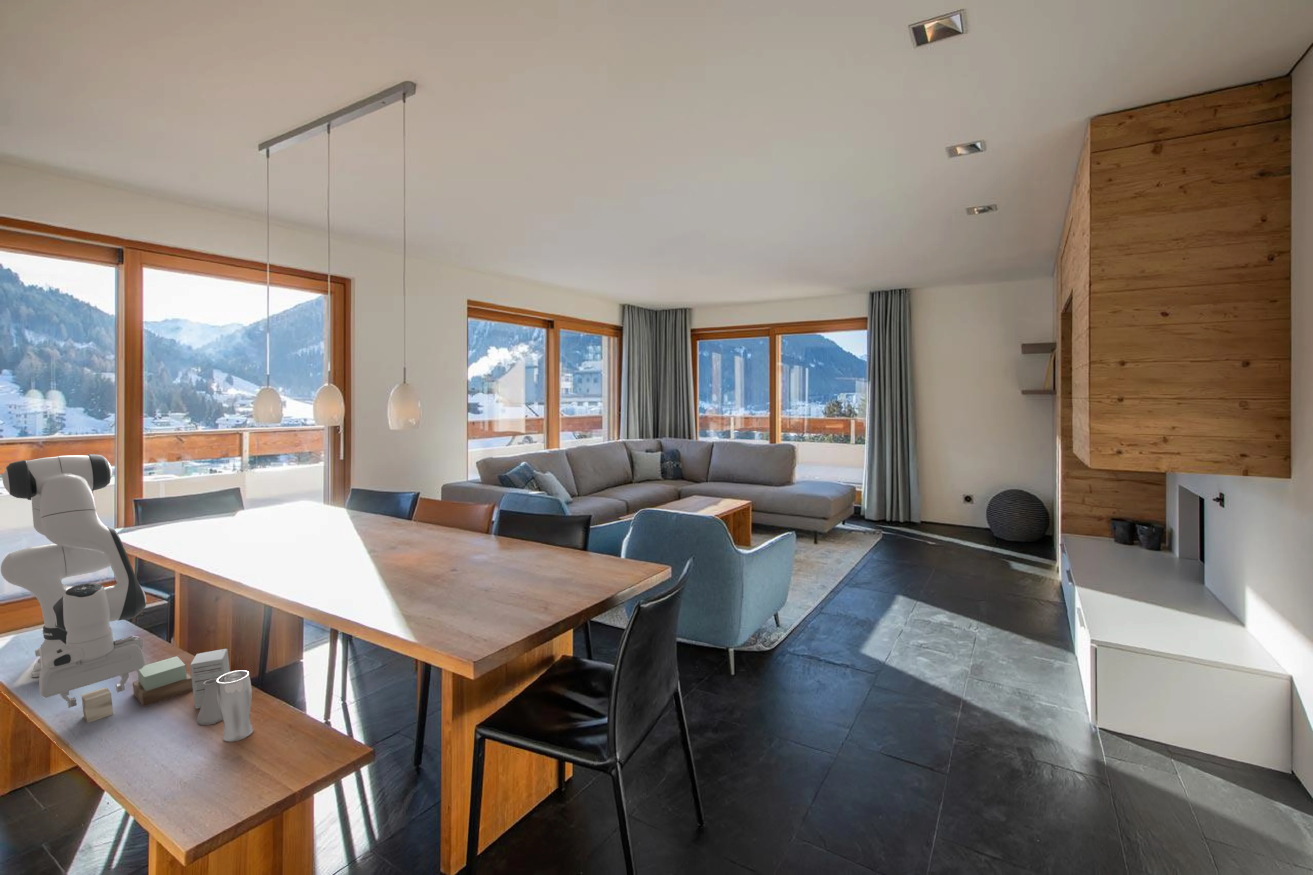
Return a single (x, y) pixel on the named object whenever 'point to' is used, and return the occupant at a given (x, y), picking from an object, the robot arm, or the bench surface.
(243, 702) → the beer glass
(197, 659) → the supplement box
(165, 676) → the tower top block
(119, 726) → the bench surface
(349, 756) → the bench surface
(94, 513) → the robot arm
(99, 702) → the birch block
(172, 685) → the tower base slab
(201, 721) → the flask
